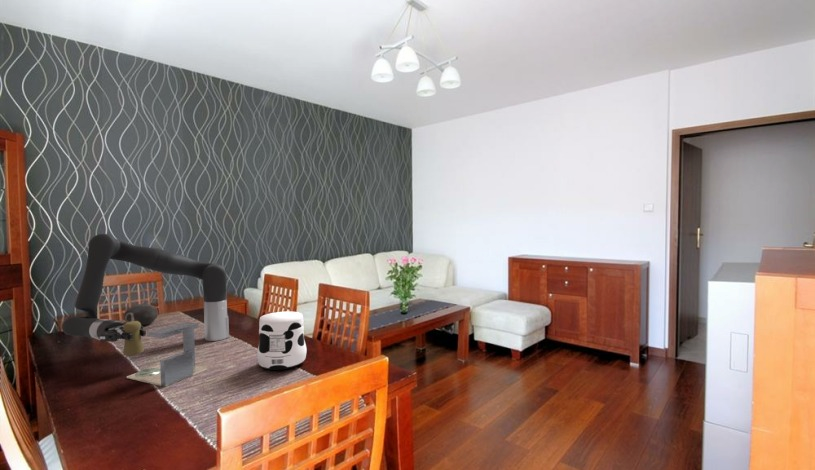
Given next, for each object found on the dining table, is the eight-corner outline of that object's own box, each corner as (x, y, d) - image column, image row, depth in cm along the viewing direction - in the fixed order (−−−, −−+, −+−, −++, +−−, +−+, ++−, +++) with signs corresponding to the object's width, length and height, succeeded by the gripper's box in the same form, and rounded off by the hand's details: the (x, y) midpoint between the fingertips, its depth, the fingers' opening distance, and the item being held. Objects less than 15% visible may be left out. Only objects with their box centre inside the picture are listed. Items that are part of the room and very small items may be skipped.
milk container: (292, 353, 159) (291, 308, 158) (315, 364, 146) (314, 316, 145) (249, 364, 146) (248, 316, 146) (270, 378, 134) (269, 325, 133)
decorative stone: (122, 322, 206) (121, 303, 206) (155, 318, 215) (154, 299, 215) (125, 330, 191) (125, 310, 191) (160, 325, 200) (160, 305, 200)
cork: (133, 355, 138) (131, 324, 137) (118, 354, 139) (116, 323, 138) (148, 349, 144) (146, 319, 143) (134, 348, 145) (132, 319, 144)
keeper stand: (126, 377, 135) (124, 329, 134) (168, 362, 149) (167, 318, 149) (165, 387, 128) (163, 336, 127) (206, 369, 142) (205, 324, 141)
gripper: (84, 325, 140) (115, 330, 133) (126, 315, 153) (157, 319, 146) (85, 346, 140) (117, 352, 133) (127, 334, 153) (158, 339, 146)
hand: (137, 334), depth 140 cm, fingers closed on cork, 4 cm apart
